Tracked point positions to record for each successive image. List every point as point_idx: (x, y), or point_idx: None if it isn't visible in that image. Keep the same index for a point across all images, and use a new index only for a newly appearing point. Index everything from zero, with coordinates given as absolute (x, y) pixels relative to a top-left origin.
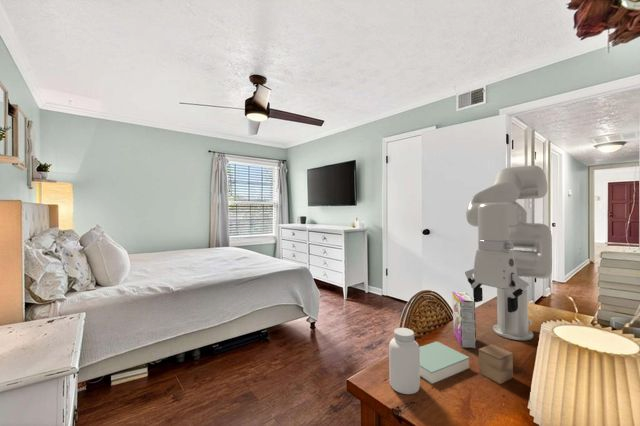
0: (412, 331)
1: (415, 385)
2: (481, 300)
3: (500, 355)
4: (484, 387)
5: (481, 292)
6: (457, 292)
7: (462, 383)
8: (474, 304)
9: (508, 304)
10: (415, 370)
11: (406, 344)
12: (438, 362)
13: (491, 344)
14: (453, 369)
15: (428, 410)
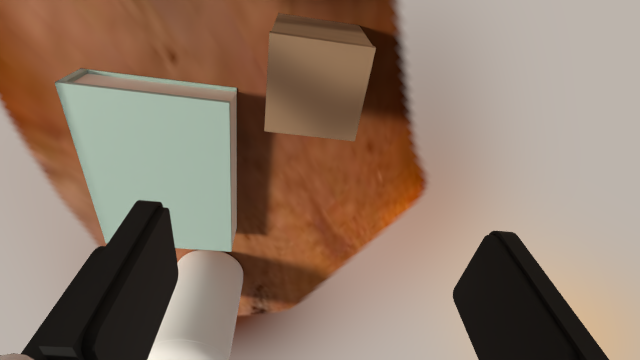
0: None
1: (241, 287)
2: (167, 220)
3: (347, 115)
4: (322, 150)
5: (126, 298)
6: None
7: (277, 177)
8: None
9: (484, 355)
10: (236, 317)
11: None
12: (202, 206)
13: (272, 36)
14: (233, 170)
15: (291, 284)
